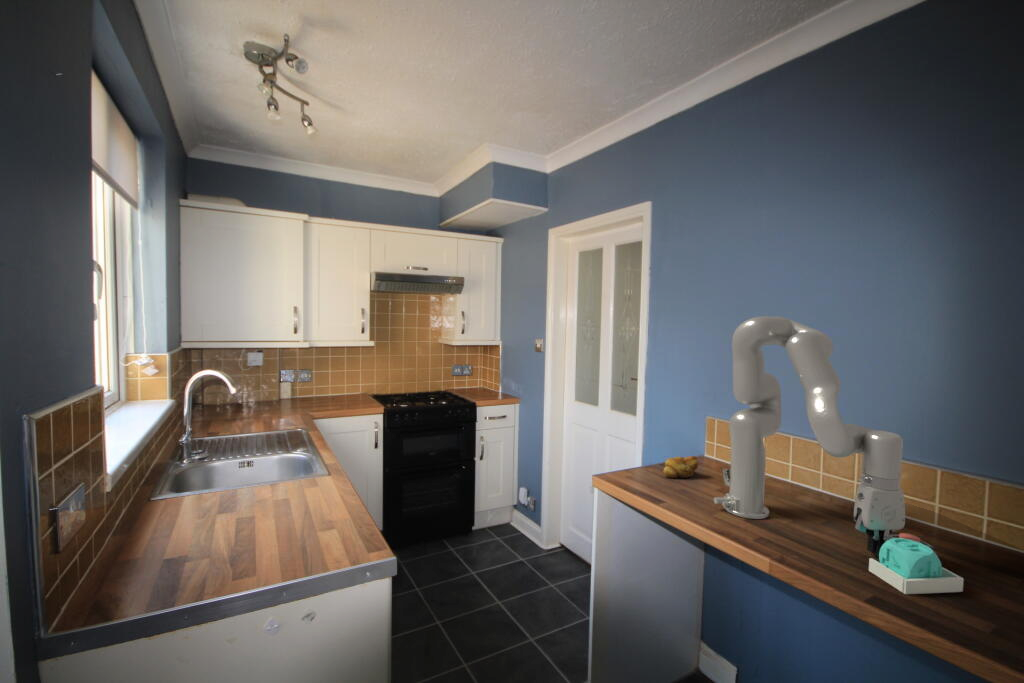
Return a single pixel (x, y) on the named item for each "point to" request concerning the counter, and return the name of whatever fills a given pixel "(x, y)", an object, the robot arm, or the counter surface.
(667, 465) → the bread roll
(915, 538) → the button
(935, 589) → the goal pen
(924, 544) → the button collar
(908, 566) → the decorative dice
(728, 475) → the egg carton
